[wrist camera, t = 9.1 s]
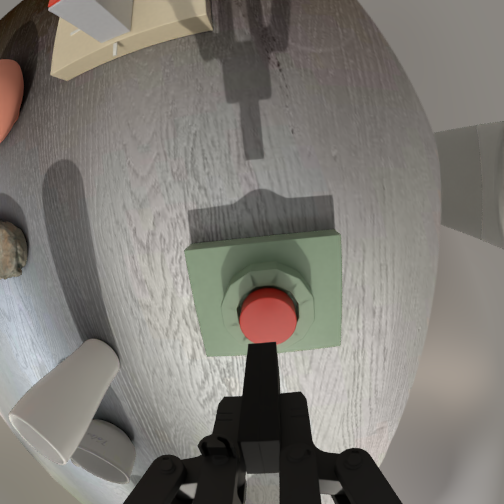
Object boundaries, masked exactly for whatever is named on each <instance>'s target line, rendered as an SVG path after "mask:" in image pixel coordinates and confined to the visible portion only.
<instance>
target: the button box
mask: <svg viewBox="0 0 504 504" xmlns="http://www.w3.org/2000/svg"><path fill="white" fill-rule="evenodd" d="M184 252H185V258H186V263H187V268H188V274H189V279H190V284H191V289H192V294H193V298H194V303H195V308H196V312H197V317H198V321H199V325H200V330H201V334H202V338H203V342H204V347H205V351H206V355H207V357H209V356H240V355H247V350H248V344H252V343H253V342H251V341H250V340H249V339H247V338H246V337H245V335H244V334H243V332H242V331H241V328H240V324H239V319H240V314H241V309H242V304H243V302H244V300H245V299H246V297H247V296H248V295H249V294H251V293H252V292H254V291H255V290H258V289H261V288H276V289H279V290H281V291H283V292H285V293H286V294H287V295H288V296H289V297H290V298H291V299H292V301H293V303H294V307H295V312H296V317H297V325H296V328H295V331H294V333H293V334H292V335H291V337H290V338H288V339H287V340H286V341H284V342H283V343H281V344H278V345H277V353H283V352H294V351H303V350H312V349H320V348H328V347H335V346H340V345H341V320H342V254H341V235H340V234H339V233H338V232H337V231H336V230H334V229H331V230H320V231H310V232H299V233H289V234H279V235H269V236H259V237H249V238H240V239H230V240H221V241H212V242H203V243H194V244H191V245H190V246H189V247H187V248H186V249H185V250H184Z"/></svg>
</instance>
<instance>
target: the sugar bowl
mask: <svg viewBox="0 0 504 504" xmlns="http://www.w3.org/2000/svg"><path fill="white" fill-rule="evenodd" d="M23 91H24V80H23V75H22V71H21V68H20V66H19V64H18V63H17V62H16V61H14V60H10V59H1V60H0V143H1V142H2V141H3V140H4V139H5V137H6V136H7V135H8V133H9V132H10V130H11V128H12V127H13V125H14V123H15V122H16V121H17V119H18V117H19V110H20V106H21V102H22V98H23Z"/></svg>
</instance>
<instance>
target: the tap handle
mask: <svg viewBox="0 0 504 504" xmlns="http://www.w3.org/2000/svg"><path fill="white" fill-rule="evenodd" d="M48 7H49V9H48V10H49V11H50V12H52V13H54V14H56V15H57V16H59V17H61V18H62V19H64V20H66V21H67V22H69V23H71V24H72V25H74V26H76V27H77V28H79V29H80V30H82V31H83V32H85V33H87V34H88V35H90V36H91V37H93V38H94V39H96V40H97V41H99V42H100V43H103V42H106V41H108V40H110V39H113V38H115V37H118V36H120V35H123V34H125V33H128V32H130V31H131V18H132V7H133V0H50V2H49V5H48Z"/></svg>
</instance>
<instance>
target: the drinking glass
mask: <svg viewBox="0 0 504 504" xmlns="http://www.w3.org/2000/svg"><path fill="white" fill-rule="evenodd" d="M119 369H120V362H119V359H118V357H117V355H116V353H115V352H114V350H113V349H112V348H111V347H110V346H109V345H108V344H106V343H105V342H103V341H101V340H98V339H88V340H86V341H85V342H84V343H83V344H82V345H81V346H80V347H79V348H78V349H76V350H75V351H74V352H73V353H72V354H71V355H69V356H68V357H67V358H66V359H64V360H63V361H62V362H61V363H60V364H58V365H57V366H56V367H55V368H54V369H52V370H51V371H50V372H49V373H48V374H46V375H45V376H44V377H43V378H42V379H40V380H39V381H38V382H37V383H36V384H35V385H33V386H32V387H31V388H30V389H29V390H28V391H27V392H26V393H25V394H24V395H23V396H22V398H21V399H20V400H19V401H18V402H17V404H16V405H15V406H14V407H13V409H12V410H11V411H10V412H9V419H10V421H11V423H12V425H13V426H14V428H15V429H16V431H17V432H18V433H19V434H20V435H21V437H22V438H23V439H24V440H25V441H26V442H27V443H28V444H29V445H30V446H32V447H33V448H34V449H35V450H36V451H37V452H39V453H40V454H41V455H43V456H44V457H46V458H47V459H49V460H51V461H52V462H54V463H57V464H59V465H66V464H67V462H68V461H69V459H70V458H71V456H72V455H73V453H74V452H75V450H76V449H77V447H78V446H79V444H80V442H81V441H82V439H83V437H84V435H85V433H86V431H87V429H88V427H89V425H90V423H91V421H92V419H93V417H94V415H95V413H96V411H97V409H98V407H99V405H100V403H101V401H102V399H103V397H104V395H105V393H106V392H107V390H108V388H109V386H110V384H111V382H112V381H113V379H114V378H115V376H116V375H117V373H118V371H119Z"/></svg>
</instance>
